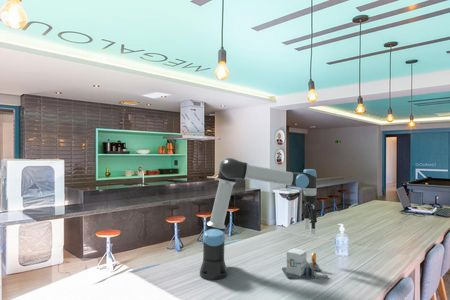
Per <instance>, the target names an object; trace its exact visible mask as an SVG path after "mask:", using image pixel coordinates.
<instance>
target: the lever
mask: <svg viewBox="0 0 450 300" xmlns="http://www.w3.org/2000/svg"><path fill="white" fill-rule="evenodd" d="M308 263H309V264H310V265H311V267H312V268H313V269H314V272H315V271H319V270H318V267H319V264H318V263H317V253H316V252H312V253H311V262H308Z"/></svg>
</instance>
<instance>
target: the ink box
mask: <svg viewBox="0 0 450 300" xmlns="http://www.w3.org/2000/svg"><path fill="white" fill-rule="evenodd" d="M306 261H307V250H303V249H298V248H294V247H293V248H291V249H289V250H287V251H286V267H287V273H291V274H295V275H299V276H301V275H302V274H304V273H305V272H306Z"/></svg>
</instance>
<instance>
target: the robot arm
mask: <svg viewBox="0 0 450 300" xmlns="http://www.w3.org/2000/svg"><path fill="white" fill-rule="evenodd" d="M246 179H248V180H254V181H260V182H261V181H262V182H266V183H272V184H278V185H284V186H290V187H294V188H295V187H296V188H300V189H302V192H303V196H302V197H303V204H304V205H303V213H302V214H303V215H302V217H303V218H304V219H303V220H304V225H303V227H304V230H310V231H309V232H310V235H316V223H318V219H317V209H316V204H314V203H316V202H317V171H316V169H310V168H307V169H306V168H305V169H303V172H292V171H285V170H280V169H274V168H269V167H263V166H262V167H261V166H257V165H256V166H255V165H251V164H248V163H247V162H244V161H240V160H237V159H235V158H233V157H232V158H231V157H227V158H225V159H223V160H221V162H220V164H219V170H218V174H217V180H218V186H217V190H216V192H215V198H214V203H213V207H212V211H211V214H210V219H209V221H207V222H206V226H205V228H204V231H203V236H202V240H203V241H202V242H203V243H202V244H203V247H202V248H203V249H202V263H201V265H200V268H199V277H201V278H202V279H204V280H211V281H218V280H222V279H225V278H227V276H228V269H227V265H226V261H225V241H226V237H225V233H226V228H227V227H226V225H225V220H226V217H227V212H228V209H229V203H230V201H231V196H232V192H233V188H234V185H235V184H237V181H238V180H243V181H244V180H246Z"/></svg>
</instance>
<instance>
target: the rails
mask: <svg viewBox="0 0 450 300" xmlns="http://www.w3.org/2000/svg"><path fill="white" fill-rule="evenodd" d="M317 271H319V273H321V274H315V273H314V279H315V280H317V279H327V280H329V275H328V274H327V273H326V272H325V271H324V270H322V268H321V267H320V266H318V270H317Z"/></svg>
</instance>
